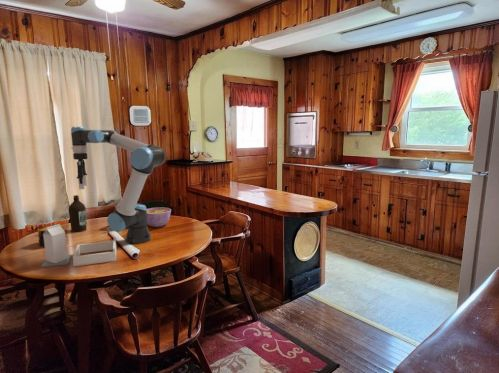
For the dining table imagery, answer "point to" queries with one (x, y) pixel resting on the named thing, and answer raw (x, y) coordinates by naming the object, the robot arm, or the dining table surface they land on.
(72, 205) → the olive oil
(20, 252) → the dining table surface
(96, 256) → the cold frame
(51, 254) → the milk carton
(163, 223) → the bowl of food
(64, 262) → the slate tile
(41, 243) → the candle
